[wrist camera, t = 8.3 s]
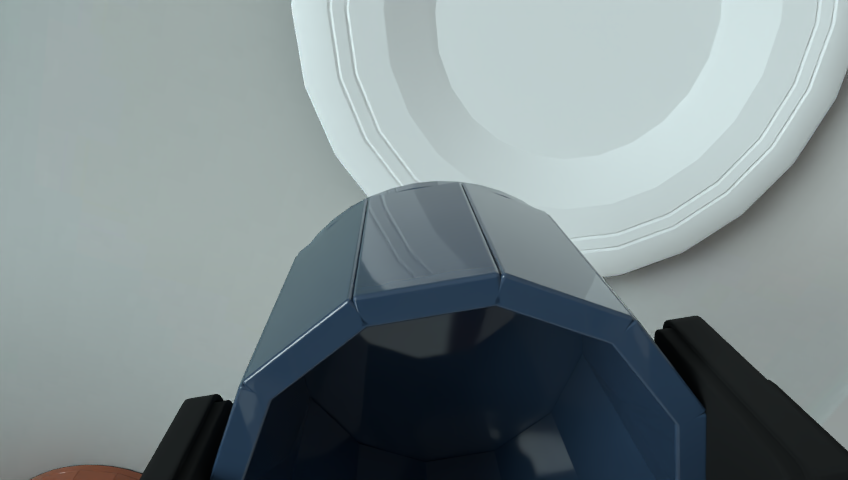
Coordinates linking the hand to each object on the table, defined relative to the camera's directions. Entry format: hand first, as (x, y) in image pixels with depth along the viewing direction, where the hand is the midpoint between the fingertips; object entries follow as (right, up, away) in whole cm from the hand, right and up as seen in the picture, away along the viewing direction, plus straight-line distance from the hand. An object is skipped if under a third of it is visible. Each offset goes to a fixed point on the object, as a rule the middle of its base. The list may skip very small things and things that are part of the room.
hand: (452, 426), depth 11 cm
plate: (+6, +14, +16) cm, 22 cm away
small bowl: (0, +1, +3) cm, 4 cm away
